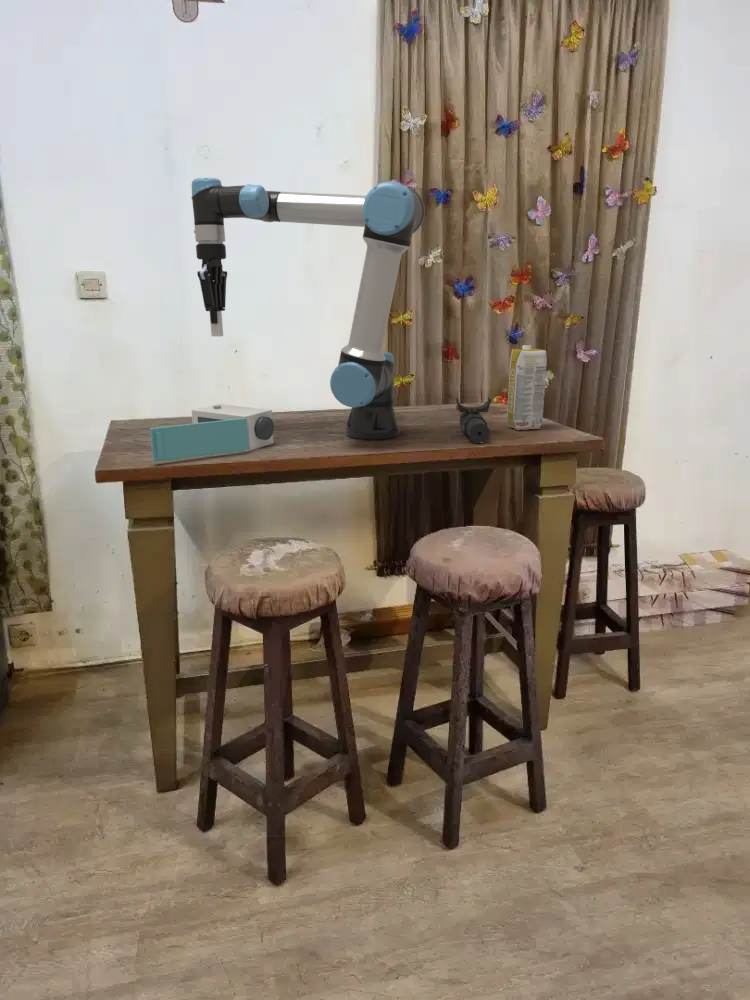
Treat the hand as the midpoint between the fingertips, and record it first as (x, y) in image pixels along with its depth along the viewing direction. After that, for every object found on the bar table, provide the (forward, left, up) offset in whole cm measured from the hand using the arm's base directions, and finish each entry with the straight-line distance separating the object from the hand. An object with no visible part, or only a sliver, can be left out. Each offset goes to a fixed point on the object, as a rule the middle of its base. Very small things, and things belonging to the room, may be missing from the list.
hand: (217, 336), depth 195 cm
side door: (-14, +23, -27) cm, 38 cm away
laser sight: (-60, -36, -28) cm, 76 cm away
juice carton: (-69, -53, -28) cm, 91 cm away
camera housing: (-9, +6, -27) cm, 29 cm away
